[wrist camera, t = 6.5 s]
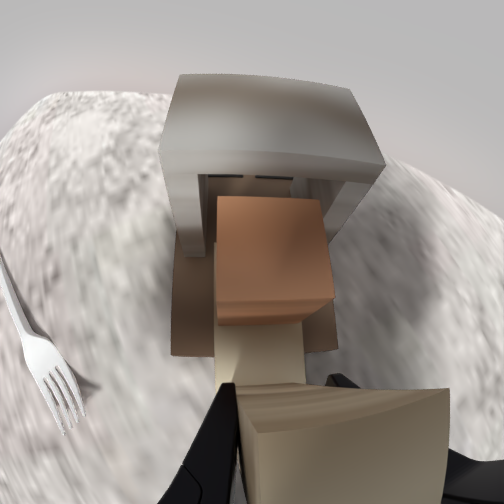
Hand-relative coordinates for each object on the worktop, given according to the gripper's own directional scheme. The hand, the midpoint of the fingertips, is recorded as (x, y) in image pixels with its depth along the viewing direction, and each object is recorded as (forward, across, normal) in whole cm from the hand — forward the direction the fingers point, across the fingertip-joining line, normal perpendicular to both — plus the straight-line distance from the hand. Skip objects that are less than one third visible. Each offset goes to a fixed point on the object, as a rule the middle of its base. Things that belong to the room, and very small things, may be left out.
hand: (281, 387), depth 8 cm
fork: (+8, +17, +2) cm, 19 cm away
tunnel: (+11, 0, -2) cm, 11 cm away
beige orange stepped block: (+6, 0, +2) cm, 6 cm away
